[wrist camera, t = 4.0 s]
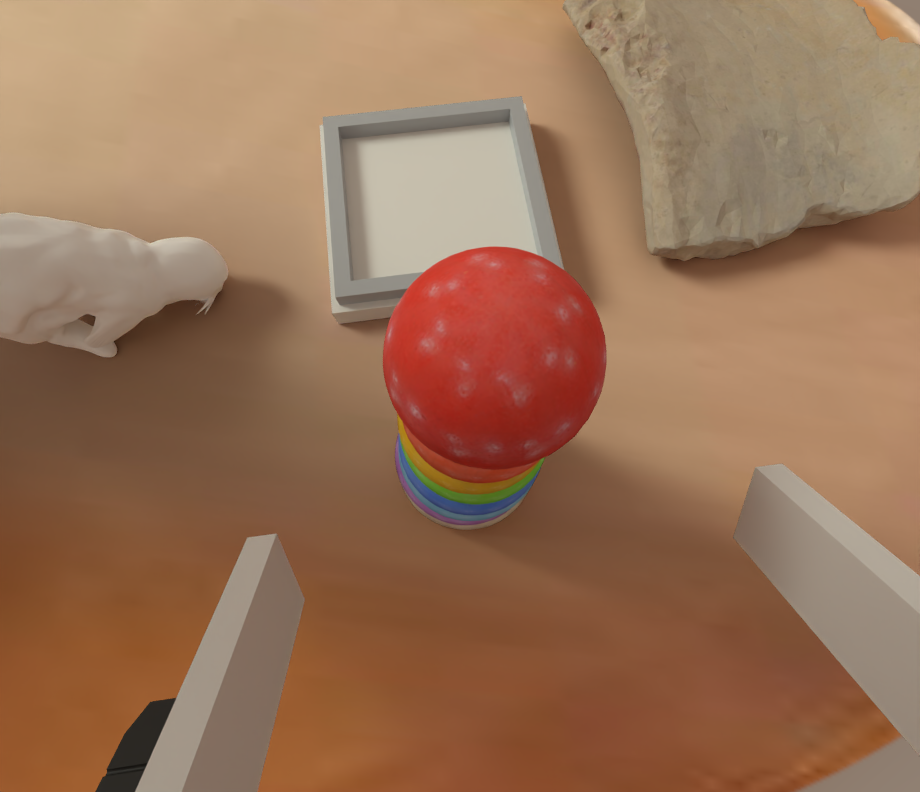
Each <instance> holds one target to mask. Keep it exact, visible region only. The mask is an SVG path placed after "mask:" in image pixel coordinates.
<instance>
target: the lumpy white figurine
mask: <svg viewBox="0 0 920 792" xmlns="http://www.w3.org/2000/svg"><path fill="white" fill-rule="evenodd" d="M227 277H228V267H227V264H226V262H225V260H224V259H223V257H222V256H221V254H220V253H219V252H218V251H217V249H216V248H215V247H213V246H212V245H211V244H210V243H208V242H206V241H204V240H202V239H199V238H193V237H176V238H168V239H162V240H158V241H155V242H153V243H148V242H147V241H145V240H142V239H140V238H137V237H135V236H133V235H132V234H130V233H128V232H125V231H122V230H116V229H102V228H98V227H94V226H90V225H87V224H84V223H80V222H76V221H69V220H58V219H55V218H51V217H44V216H32V215H26V214H22V213H15V212H10V213H4V214H0V338H5V339H10V340H13V341H17V342H20V343H25V344H37V343H41V342H44V341H47V342H49V343H52V344H57V345H61V346H64V347H74V348H78V349H82V350H85V351H89V352H91V353H94V354H96V355H98V356H101V357H113V356H115V355H116V354H117V347H116V345H115V343H114V341H115V340H116V339H118V338H119V337H121V336H122V335H124V334H125V333H127V332H128V331H130V330H131V329H132V328H134V327H135V326H136V325H137V324H138V323H139V322H141V321H142V320H143V319H144V318H146V317H149V316H152V315H154V314H156V313H158V312H159V311H160V310H161V309H162V308H163V307H164V306H165V305H167V304H171V303H174V302H177V301H181V300H196V301H197V300H198V301H199V300H200V301H201V302H202V301H205V302H206V301H207V302H206V303H205V304H204V302H203V304H204V306H203V307H202V308H201V309H200V311H199V312H201V311H202V310H203V309H204V308H206V307H207V306H208V307H207V309H206V311H205V314H206V312H207V311H208V309H209V308H210V307H211V305H212V303H213V301H214V299H215V297H216V295H217V294H218V292H220V291H221V290H222V287H223V283H224V282H225V280H226V279H227ZM197 304H198V303H197ZM199 312H198V313H199ZM198 313H197V314H198ZM85 314H90V315H92V316H95V317H96V319H95V324H94V326H92V325H89V324H87V323H85V322H83V321H81V320H79V318H80V317H82V316H83V315H85ZM197 314H196V315H197ZM205 314H204V315H205Z"/></svg>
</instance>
